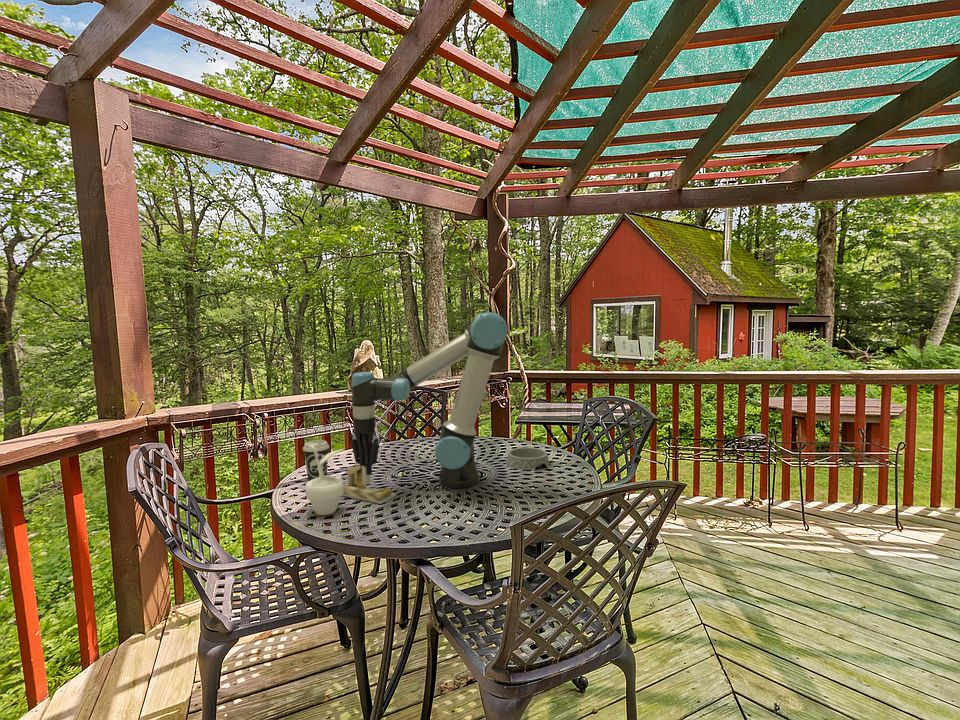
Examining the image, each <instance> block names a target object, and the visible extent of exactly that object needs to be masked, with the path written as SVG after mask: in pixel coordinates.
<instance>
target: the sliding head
mask: <svg viewBox="0 0 960 720" xmlns="http://www.w3.org/2000/svg"><path fill="white" fill-rule="evenodd" d="M347 483H348V484H347V486H352V487H357V488H362V489H365V488H368V484H366V485H364V484H362V474H361V467H360V465H356V466H355V465H354V466H353V467H350V468H348V469H347Z"/></svg>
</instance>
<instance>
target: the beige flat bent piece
mask: <svg viewBox="0 0 960 720" xmlns="http://www.w3.org/2000/svg"><path fill="white" fill-rule="evenodd" d="M343 486H344V492H343V494H345V495H350V496H355V497H359V498H364V499H369V500H373V501H378V502H379V501H381V500H382V498H383V497H385V496H387V495H389V494H391V492H392V488H389V487H383V488H381V489H378V490H379V491H372V490H367V489H362V488H357V487H352V486H348V484H343Z"/></svg>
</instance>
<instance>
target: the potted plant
mask: <svg viewBox="0 0 960 720" xmlns="http://www.w3.org/2000/svg"><path fill="white" fill-rule="evenodd" d="M322 445H323V444H321V443H320V441H319V442H318V445H317V447H319V450H320V448H321V446H322ZM309 447H310V448H313V450H314V454H315V458H316V463H317V464H318V465H317V469H318V472H319V478H316V479H313V480H310V481H307V482H306V483H305V498H306V499H308V500H309V502H310V504H311V506H312V509H313V512H314V513H315V514H316V515H318V516H329V515H331V514H333V513H335V512H337V508H338V505H339V501H340V498H341V496H343V492H344V486H343V485H344V479H343V478H342V477H339V476H332V475H331V476H330V475H328V474H327V475H326V476H324V473H323V469H322V466H321V464H323V463H324V462H325V461H327V462H328V461H329V459H330V458H331V457H333V456H334V455H335V454H338V453H340V452H343V451H345V448H341V449H336V450H333V451H331V452H328V454H327V455H325V456H324V455H322V459H321V460H320V462H318V458H319V454H317V449H316V448H315V447H314V446H313V445H312V446H309ZM317 456H318V458H317Z"/></svg>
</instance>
